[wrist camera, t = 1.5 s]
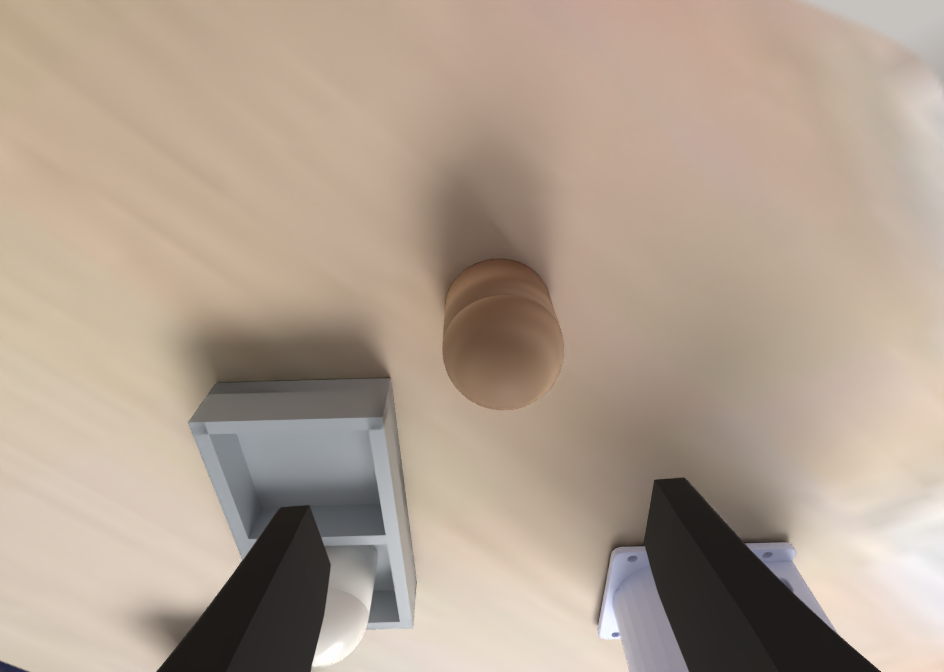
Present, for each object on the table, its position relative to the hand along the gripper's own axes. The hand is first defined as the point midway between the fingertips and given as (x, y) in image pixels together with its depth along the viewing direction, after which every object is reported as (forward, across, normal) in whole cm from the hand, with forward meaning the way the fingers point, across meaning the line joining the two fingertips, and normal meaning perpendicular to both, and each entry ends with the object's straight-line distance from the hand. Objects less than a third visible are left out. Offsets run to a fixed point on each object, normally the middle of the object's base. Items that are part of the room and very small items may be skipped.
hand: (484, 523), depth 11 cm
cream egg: (+9, +8, +13) cm, 18 cm away
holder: (+10, +8, +10) cm, 16 cm away
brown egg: (+10, -1, 0) cm, 10 cm away
